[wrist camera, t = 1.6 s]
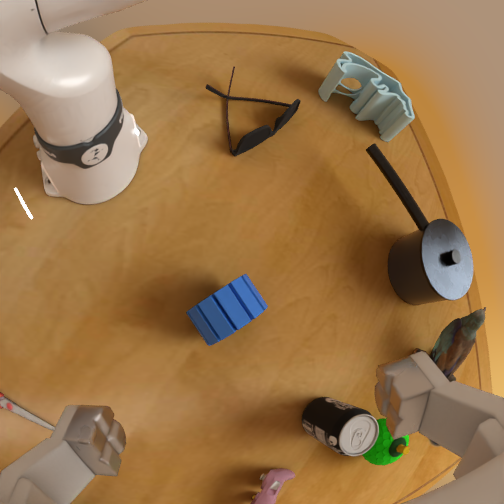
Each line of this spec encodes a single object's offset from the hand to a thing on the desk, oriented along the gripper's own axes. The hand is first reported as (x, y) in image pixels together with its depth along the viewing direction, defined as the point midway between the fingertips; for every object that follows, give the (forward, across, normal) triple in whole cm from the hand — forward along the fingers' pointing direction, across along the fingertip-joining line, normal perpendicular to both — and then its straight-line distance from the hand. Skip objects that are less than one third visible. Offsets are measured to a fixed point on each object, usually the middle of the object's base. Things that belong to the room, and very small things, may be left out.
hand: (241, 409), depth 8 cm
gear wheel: (+33, +4, +15) cm, 37 cm away
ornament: (+25, -15, +40) cm, 49 cm away
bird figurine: (+32, -30, +34) cm, 56 cm away
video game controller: (+19, +3, +40) cm, 44 cm away
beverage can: (+26, -7, +33) cm, 43 cm away
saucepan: (+45, -27, +12) cm, 54 cm away
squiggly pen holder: (+60, -29, -12) cm, 67 cm away
